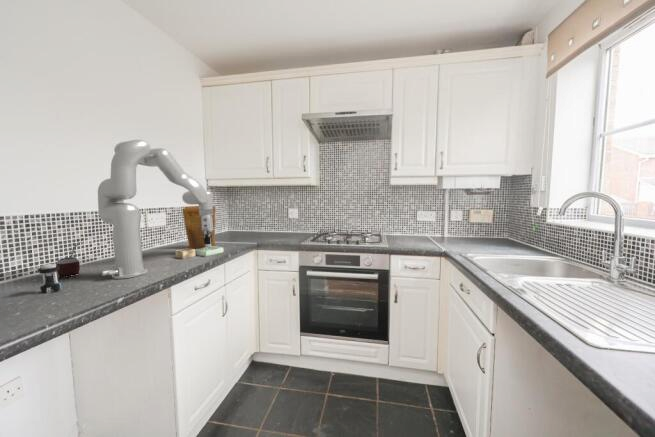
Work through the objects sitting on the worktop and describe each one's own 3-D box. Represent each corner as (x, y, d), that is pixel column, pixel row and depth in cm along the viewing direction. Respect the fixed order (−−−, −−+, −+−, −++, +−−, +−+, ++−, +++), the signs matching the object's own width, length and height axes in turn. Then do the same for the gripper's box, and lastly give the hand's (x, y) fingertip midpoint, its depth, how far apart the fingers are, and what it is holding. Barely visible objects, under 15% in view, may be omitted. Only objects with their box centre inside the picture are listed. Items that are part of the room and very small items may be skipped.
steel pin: (208, 253, 148) (206, 237, 148) (204, 252, 150) (203, 237, 149) (212, 252, 151) (211, 236, 151) (209, 251, 153) (208, 236, 152)
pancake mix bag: (217, 247, 168) (214, 205, 165) (184, 250, 161) (181, 206, 159) (218, 245, 174) (215, 205, 171) (187, 248, 168) (184, 206, 165)
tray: (206, 256, 143) (206, 251, 143) (193, 254, 148) (193, 249, 148) (223, 252, 153) (223, 247, 153) (211, 250, 159) (210, 246, 158)
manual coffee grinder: (57, 277, 111) (53, 243, 109) (82, 272, 117) (78, 240, 115) (58, 280, 106) (54, 245, 105) (84, 275, 112) (80, 242, 111)
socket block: (183, 258, 139) (183, 251, 138) (176, 257, 142) (175, 250, 142) (195, 256, 145) (195, 249, 144) (188, 254, 148) (187, 248, 148)
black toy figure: (31, 295, 89) (28, 268, 89) (42, 290, 94) (38, 264, 93) (56, 292, 92) (53, 265, 91) (65, 288, 97) (62, 262, 96)
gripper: (210, 213, 141) (212, 245, 143) (215, 211, 157) (216, 240, 159) (196, 213, 139) (198, 246, 141) (201, 211, 155) (203, 241, 157)
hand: (208, 243), depth 150 cm, fingers open, 4 cm apart
